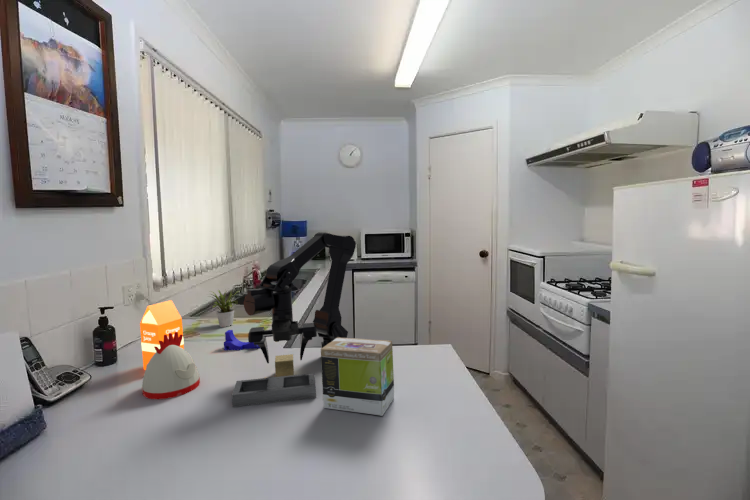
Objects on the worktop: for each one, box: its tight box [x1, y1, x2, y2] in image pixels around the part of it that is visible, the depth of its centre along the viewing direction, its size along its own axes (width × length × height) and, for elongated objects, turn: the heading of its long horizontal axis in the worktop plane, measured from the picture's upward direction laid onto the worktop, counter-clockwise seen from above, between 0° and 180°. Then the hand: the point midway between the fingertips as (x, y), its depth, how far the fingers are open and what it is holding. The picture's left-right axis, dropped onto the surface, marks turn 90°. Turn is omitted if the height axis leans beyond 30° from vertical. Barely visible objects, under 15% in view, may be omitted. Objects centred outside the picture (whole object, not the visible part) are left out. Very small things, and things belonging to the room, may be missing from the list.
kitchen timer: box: [141, 332, 201, 400], centre depth 109 cm, size 14×14×15 cm
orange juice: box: [139, 299, 185, 371], centre depth 125 cm, size 8×9×20 cm
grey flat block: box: [231, 372, 317, 408], centre depth 103 cm, size 20×8×3 cm, turn 101°
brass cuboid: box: [274, 353, 295, 377], centre depth 116 cm, size 5×5×5 cm
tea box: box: [320, 337, 395, 417], centre depth 97 cm, size 15×10×15 cm, turn 71°
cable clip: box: [223, 329, 261, 351], centre depth 141 cm, size 12×4×6 cm, turn 87°
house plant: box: [207, 289, 240, 328], centre depth 170 cm, size 14×14×16 cm
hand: (284, 361), depth 116 cm, fingers open, 9 cm apart
